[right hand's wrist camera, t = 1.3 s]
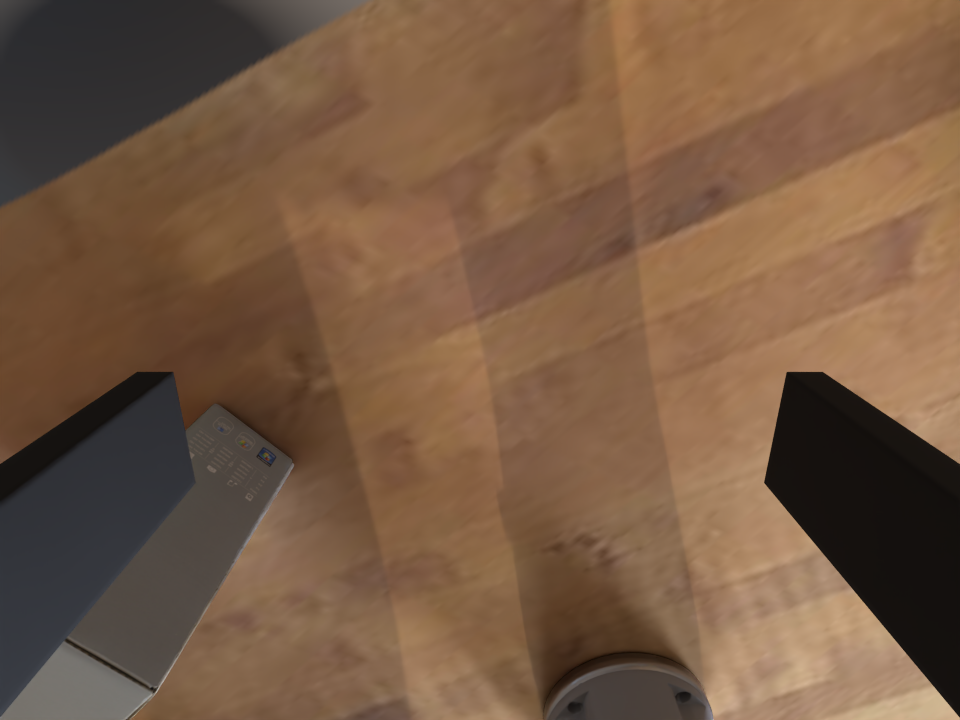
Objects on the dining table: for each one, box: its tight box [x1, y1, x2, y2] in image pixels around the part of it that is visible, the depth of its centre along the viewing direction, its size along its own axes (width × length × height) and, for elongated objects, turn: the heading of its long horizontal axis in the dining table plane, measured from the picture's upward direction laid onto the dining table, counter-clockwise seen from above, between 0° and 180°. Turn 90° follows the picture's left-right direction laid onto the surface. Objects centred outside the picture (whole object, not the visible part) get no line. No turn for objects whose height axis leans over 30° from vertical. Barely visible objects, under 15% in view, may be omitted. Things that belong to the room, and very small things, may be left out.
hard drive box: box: [0, 404, 294, 720], centre depth 36 cm, size 16×8×20 cm, turn 136°
